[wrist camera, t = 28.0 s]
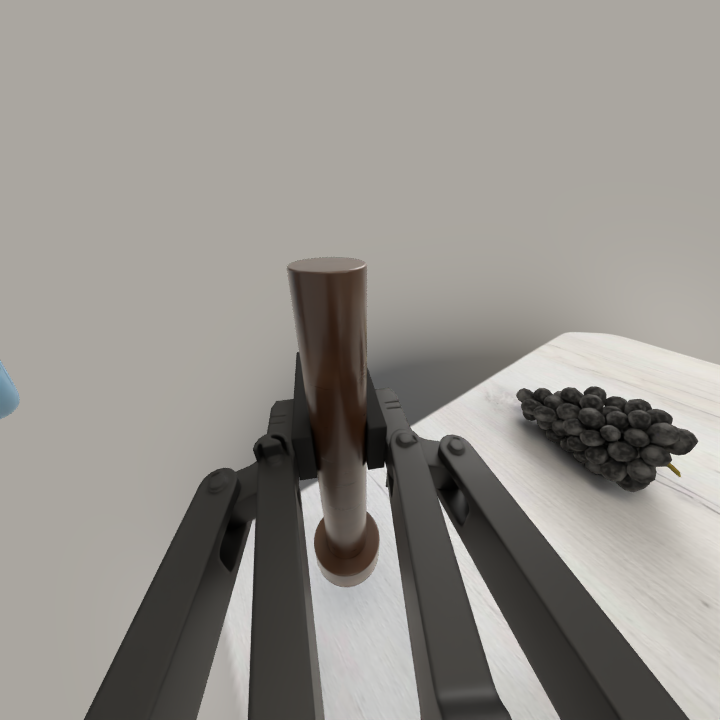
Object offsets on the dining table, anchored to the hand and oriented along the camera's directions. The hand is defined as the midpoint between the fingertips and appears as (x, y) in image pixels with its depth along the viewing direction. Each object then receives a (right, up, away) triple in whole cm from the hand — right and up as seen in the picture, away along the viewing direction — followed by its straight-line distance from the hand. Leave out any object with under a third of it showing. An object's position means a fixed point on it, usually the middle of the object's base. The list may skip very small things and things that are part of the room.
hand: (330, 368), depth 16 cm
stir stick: (+1, -12, 0) cm, 12 cm away
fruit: (+27, -10, +15) cm, 32 cm away
